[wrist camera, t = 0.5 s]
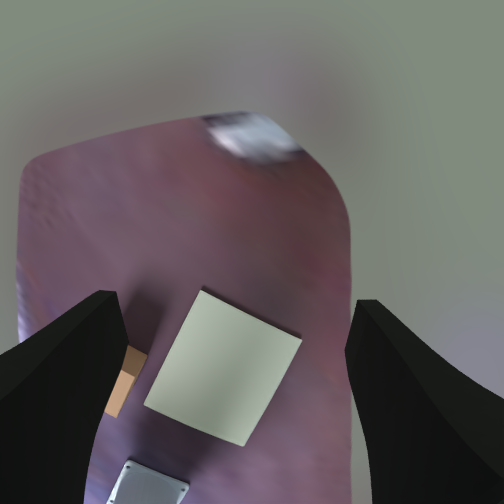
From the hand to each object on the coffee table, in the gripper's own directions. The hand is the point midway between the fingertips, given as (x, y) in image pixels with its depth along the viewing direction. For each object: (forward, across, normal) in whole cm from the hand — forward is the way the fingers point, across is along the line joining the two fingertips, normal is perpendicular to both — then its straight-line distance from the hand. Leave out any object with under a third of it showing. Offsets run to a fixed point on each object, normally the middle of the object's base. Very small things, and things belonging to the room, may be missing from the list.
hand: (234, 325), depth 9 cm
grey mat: (+16, +2, +20) cm, 26 cm away
